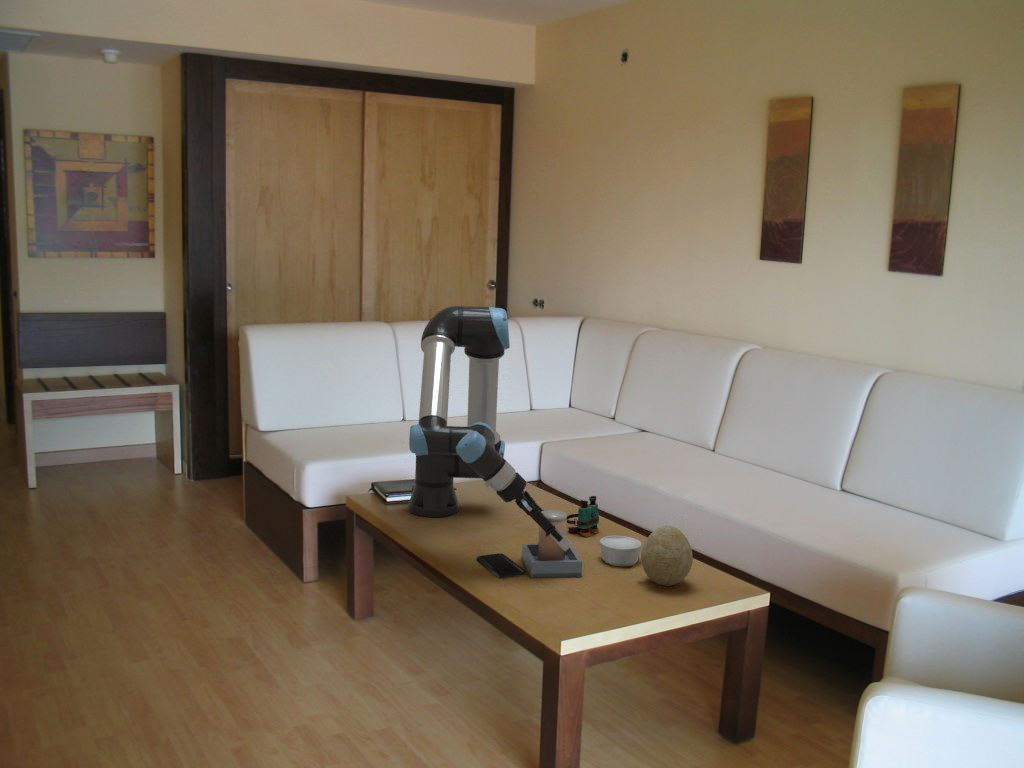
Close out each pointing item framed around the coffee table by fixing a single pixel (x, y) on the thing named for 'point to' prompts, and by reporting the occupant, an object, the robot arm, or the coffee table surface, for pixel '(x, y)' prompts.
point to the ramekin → (620, 550)
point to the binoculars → (585, 518)
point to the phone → (501, 566)
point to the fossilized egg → (666, 556)
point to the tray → (551, 563)
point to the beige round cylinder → (547, 545)
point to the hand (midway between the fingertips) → (565, 542)
